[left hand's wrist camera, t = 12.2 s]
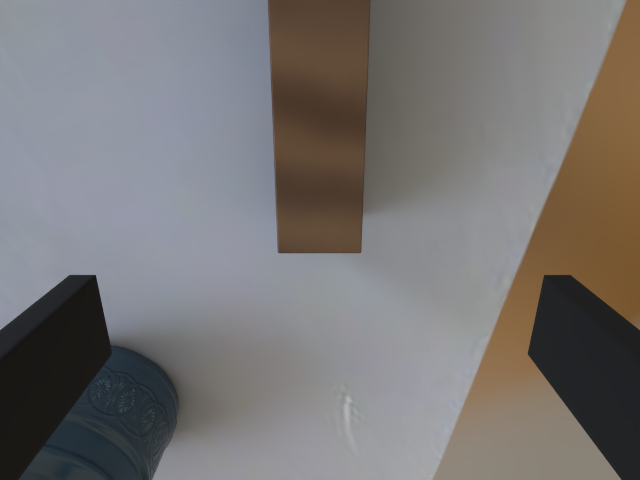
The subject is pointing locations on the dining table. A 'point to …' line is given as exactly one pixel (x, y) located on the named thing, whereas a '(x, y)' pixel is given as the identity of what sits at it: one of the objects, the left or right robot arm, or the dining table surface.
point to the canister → (113, 425)
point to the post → (319, 122)
